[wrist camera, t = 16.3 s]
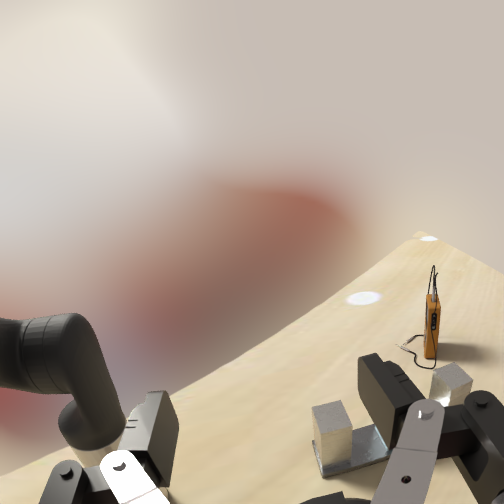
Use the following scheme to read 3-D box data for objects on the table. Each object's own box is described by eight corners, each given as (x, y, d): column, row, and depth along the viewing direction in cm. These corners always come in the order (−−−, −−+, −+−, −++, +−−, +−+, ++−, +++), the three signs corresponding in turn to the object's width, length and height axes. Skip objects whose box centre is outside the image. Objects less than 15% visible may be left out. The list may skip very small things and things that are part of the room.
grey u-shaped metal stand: (322, 478, 39) (320, 439, 36) (312, 444, 46) (308, 403, 44) (465, 425, 39) (477, 382, 37) (444, 401, 47) (452, 358, 45)
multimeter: (395, 335, 74) (395, 260, 69) (433, 334, 69) (436, 258, 65) (393, 370, 61) (395, 284, 56) (436, 369, 57) (444, 282, 52)
